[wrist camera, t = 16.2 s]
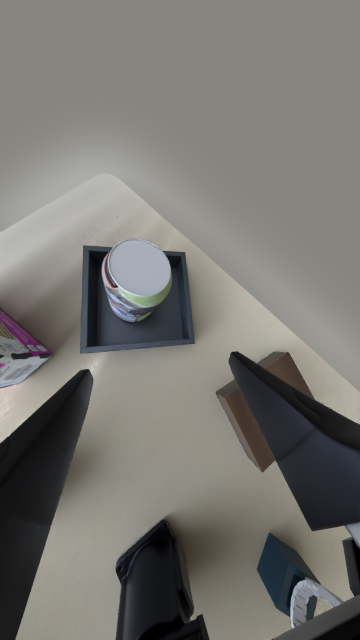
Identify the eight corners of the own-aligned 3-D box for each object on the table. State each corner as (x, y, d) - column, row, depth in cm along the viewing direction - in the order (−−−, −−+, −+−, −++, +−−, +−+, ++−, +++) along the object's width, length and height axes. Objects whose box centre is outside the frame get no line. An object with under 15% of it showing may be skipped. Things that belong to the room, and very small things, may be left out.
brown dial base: (247, 457, 23) (263, 474, 20) (215, 392, 23) (225, 398, 20) (303, 405, 27) (323, 413, 24) (274, 351, 27) (289, 352, 24)
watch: (250, 588, 19) (373, 868, 9) (273, 518, 22) (392, 677, 11) (281, 607, 20) (434, 901, 9) (300, 537, 22) (441, 709, 12)
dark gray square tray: (186, 344, 24) (194, 343, 20) (93, 352, 21) (79, 353, 16) (179, 267, 26) (185, 252, 22) (94, 263, 23) (83, 245, 19)
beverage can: (113, 284, 22) (78, 216, 11) (161, 288, 24) (175, 232, 12) (111, 325, 21) (69, 297, 10) (161, 325, 23) (177, 302, 11)
